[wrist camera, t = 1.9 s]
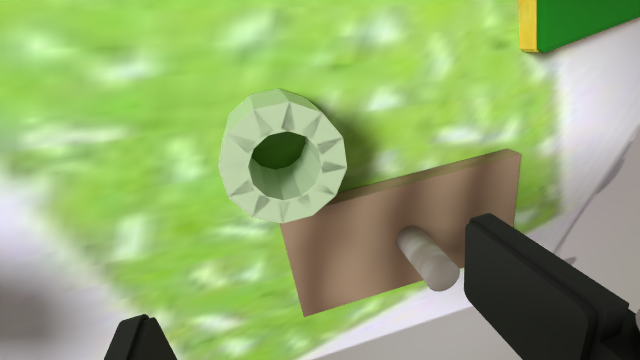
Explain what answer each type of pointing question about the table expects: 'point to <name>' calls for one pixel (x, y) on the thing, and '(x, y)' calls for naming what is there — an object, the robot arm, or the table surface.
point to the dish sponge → (569, 20)
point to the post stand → (397, 231)
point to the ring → (289, 182)
